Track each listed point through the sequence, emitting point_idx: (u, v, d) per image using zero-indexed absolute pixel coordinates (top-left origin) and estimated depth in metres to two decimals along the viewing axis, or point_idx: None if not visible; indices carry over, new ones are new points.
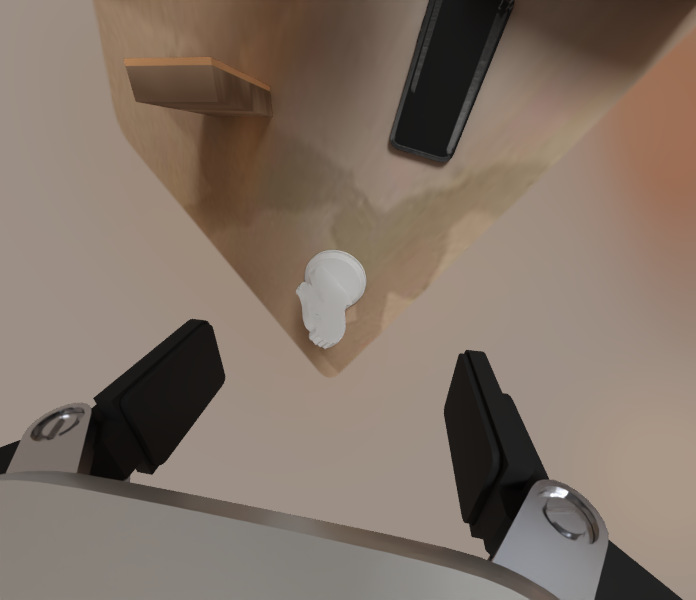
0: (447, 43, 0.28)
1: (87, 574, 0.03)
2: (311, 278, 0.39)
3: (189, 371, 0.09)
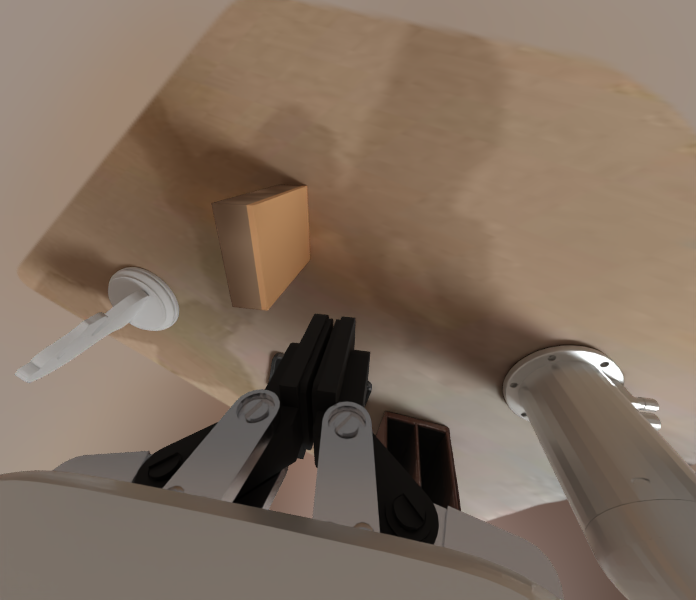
0: None
1: (87, 574, 0.03)
2: (123, 301, 0.34)
3: None
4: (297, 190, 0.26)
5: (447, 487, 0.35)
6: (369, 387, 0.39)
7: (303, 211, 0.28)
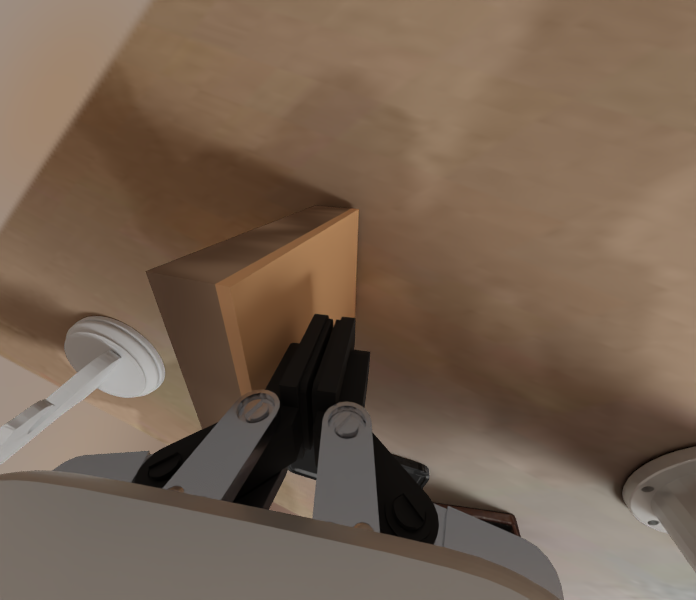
0: None
1: (87, 574, 0.03)
2: (80, 374, 0.23)
3: None
4: (342, 220, 0.15)
5: None
6: (426, 475, 0.29)
7: (350, 251, 0.17)
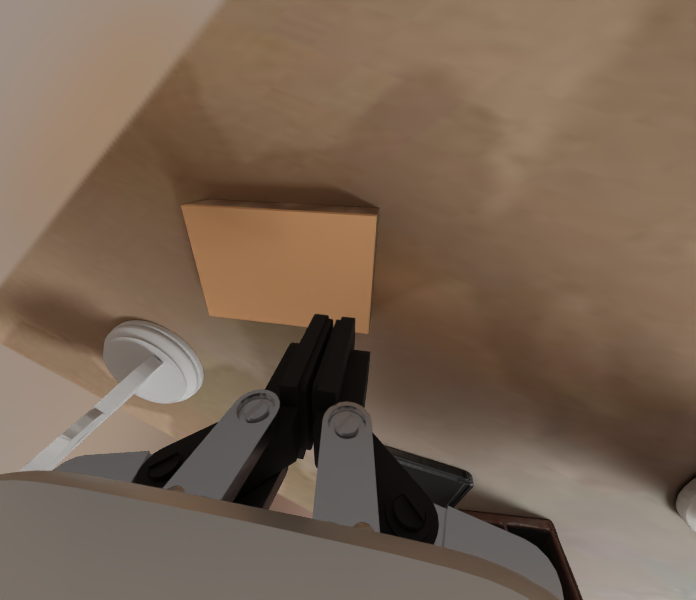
0: (421, 481, 0.30)
1: (87, 574, 0.03)
2: (126, 381, 0.22)
3: None
4: (322, 215, 0.16)
5: None
6: (471, 482, 0.28)
7: (348, 254, 0.17)
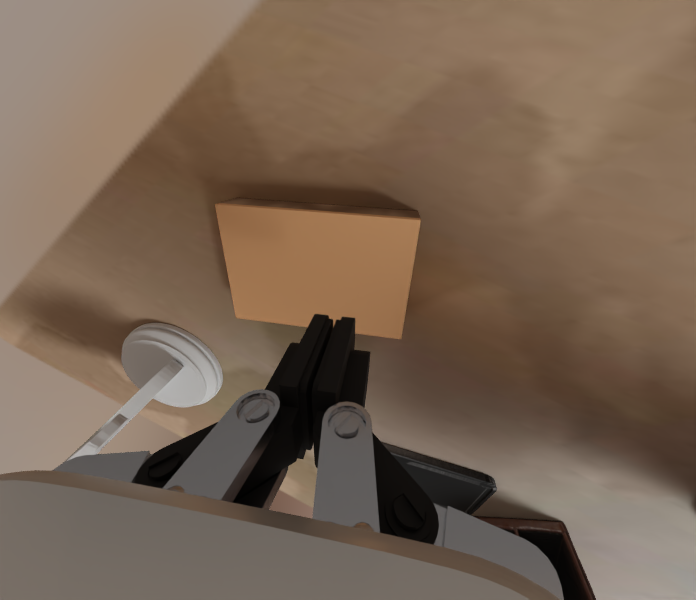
0: (442, 485, 0.29)
1: (87, 574, 0.03)
2: (148, 385, 0.22)
3: None
4: (364, 217, 0.15)
5: None
6: (494, 487, 0.28)
7: (387, 258, 0.16)
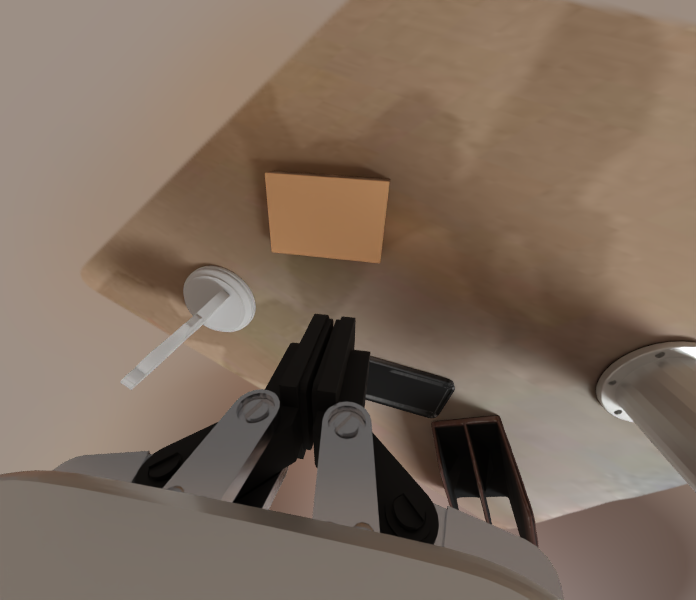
0: (416, 389, 0.40)
1: (87, 574, 0.03)
2: (211, 302, 0.32)
3: None
4: (356, 180, 0.26)
5: (514, 478, 0.35)
6: (452, 386, 0.38)
7: (370, 206, 0.27)
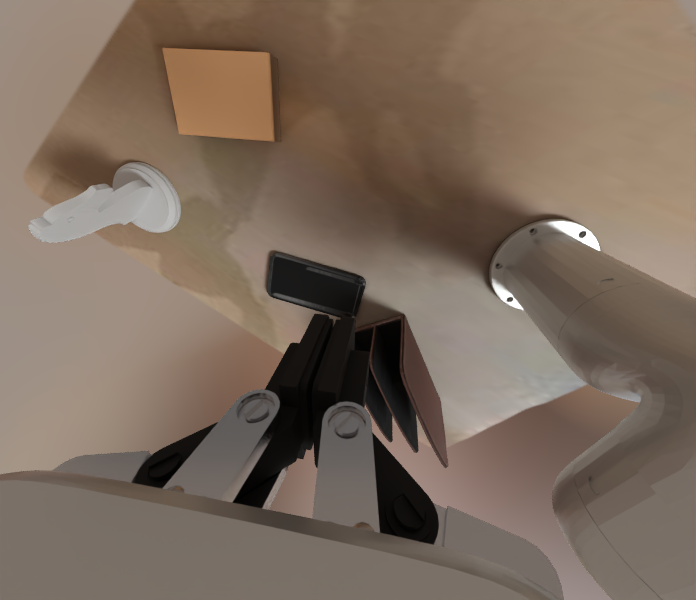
0: (332, 288, 0.43)
1: (87, 574, 0.03)
2: (128, 185, 0.35)
3: None
4: (240, 52, 0.29)
5: None
6: (363, 282, 0.41)
7: (256, 80, 0.30)
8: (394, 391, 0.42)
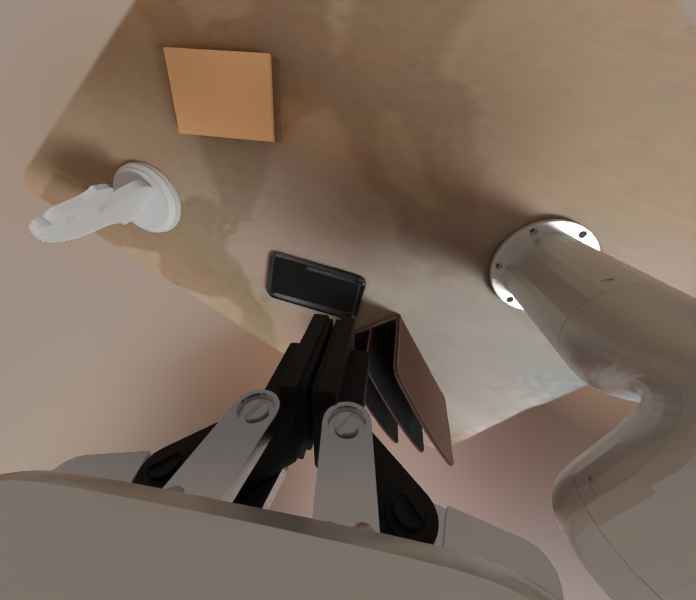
0: (332, 288, 0.43)
1: (87, 574, 0.03)
2: (128, 185, 0.35)
3: None
4: (241, 52, 0.29)
5: None
6: (363, 282, 0.41)
7: (257, 80, 0.30)
8: (394, 391, 0.42)
